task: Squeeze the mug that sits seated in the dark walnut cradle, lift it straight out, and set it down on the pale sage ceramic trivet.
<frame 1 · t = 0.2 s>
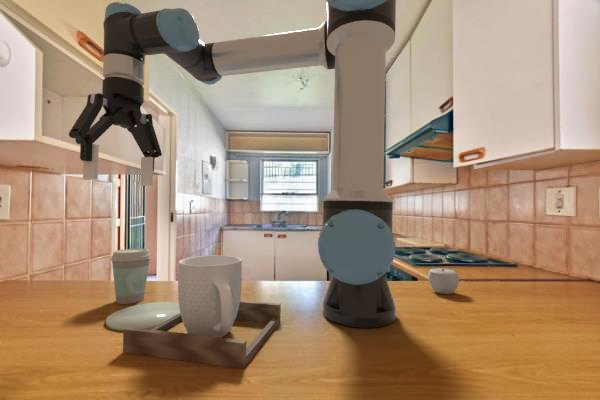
hand: (121, 182, 62), 28 cm above the countertop, fingers open, 13 cm apart
trivet: (149, 316, 61), on the countertop
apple: (443, 293, 81), on the countertop
coffee cup: (130, 301, 71), on the countertop
cradle: (211, 334, 52), on the countertop
mug: (211, 336, 52), resting in cradle
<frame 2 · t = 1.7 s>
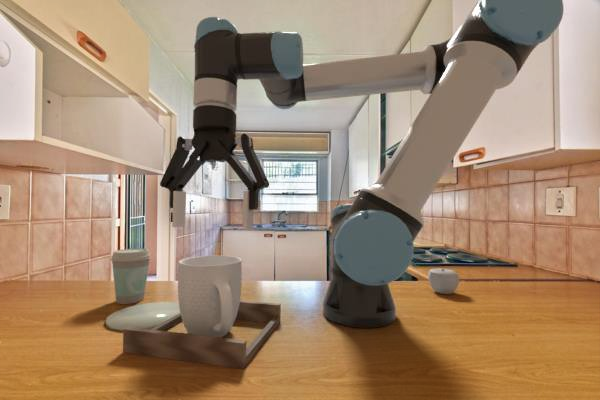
hand: (212, 228, 53), 19 cm above the countertop, fingers open, 13 cm apart
nothing on the countertop moved.
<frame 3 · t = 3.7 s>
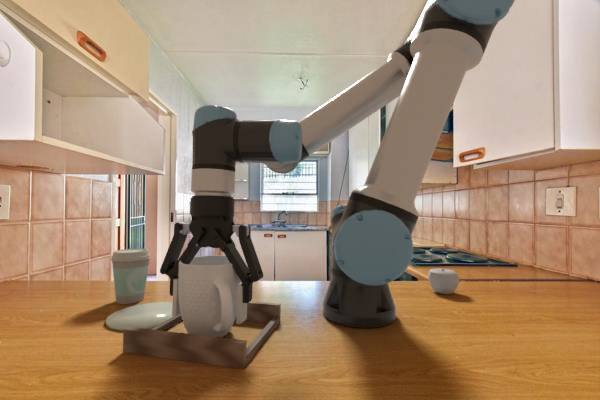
hand: (209, 317, 52), 3 cm above the countertop, fingers closed on mug, 12 cm apart
mug: (211, 336, 52), resting in cradle, touching gripper
everything else where it was.
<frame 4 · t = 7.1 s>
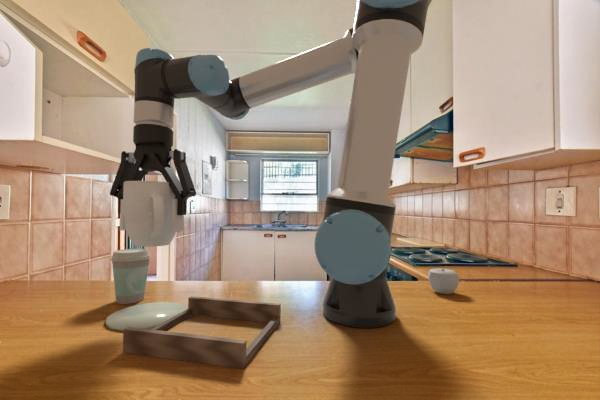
hand: (151, 230, 61), 18 cm above the countertop, fingers closed on mug, 12 cm apart
mug: (152, 246, 61), point 14 cm above the countertop, touching gripper
everything else where it was.
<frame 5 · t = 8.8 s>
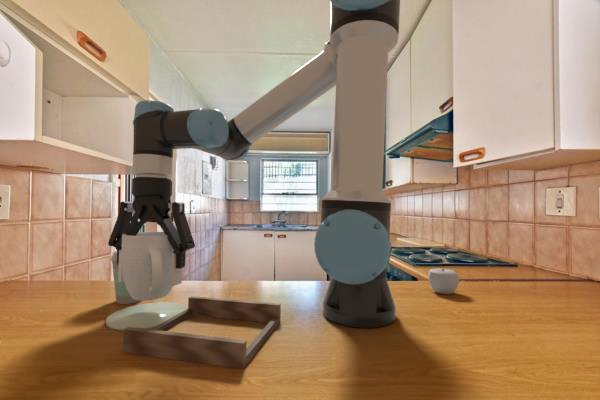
hand: (149, 282, 61), 7 cm above the countertop, fingers closed on mug, 12 cm apart
mug: (151, 298, 61), point 4 cm above the countertop, touching gripper
everything else where it was.
when the fingers open (5 cm above the countertop, at t = 10.2 s): mug drops 2 cm, resting on trivet.
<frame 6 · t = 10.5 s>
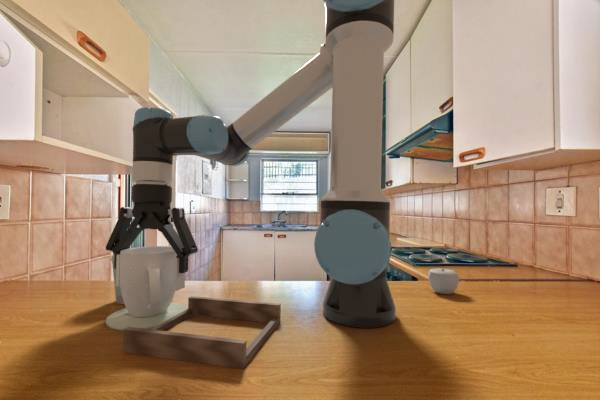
hand: (149, 287, 61), 6 cm above the countertop, fingers open, 13 cm apart
mug: (149, 314, 61), resting on trivet
everything else where it was.
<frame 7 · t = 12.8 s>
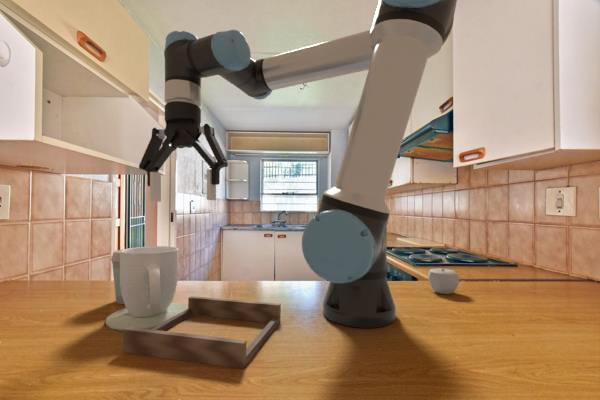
hand: (182, 201, 65), 24 cm above the countertop, fingers open, 13 cm apart
nothing on the countertop moved.
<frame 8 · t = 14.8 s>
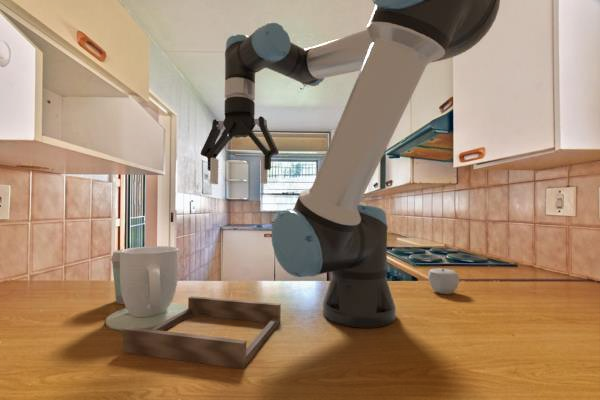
hand: (238, 183, 75), 29 cm above the countertop, fingers open, 13 cm apart
nothing on the countertop moved.
at the end: mug 0.2 cm from the trivet (horizontally); mug tilted 0°; the gripper is holding nothing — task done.
